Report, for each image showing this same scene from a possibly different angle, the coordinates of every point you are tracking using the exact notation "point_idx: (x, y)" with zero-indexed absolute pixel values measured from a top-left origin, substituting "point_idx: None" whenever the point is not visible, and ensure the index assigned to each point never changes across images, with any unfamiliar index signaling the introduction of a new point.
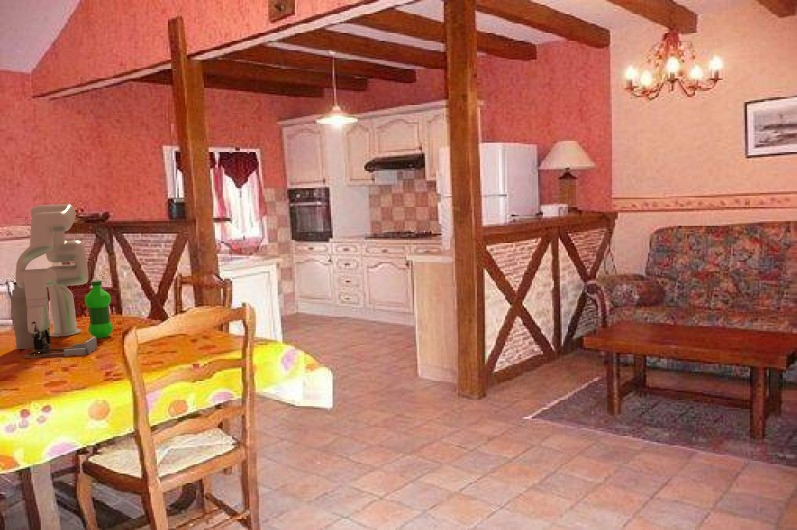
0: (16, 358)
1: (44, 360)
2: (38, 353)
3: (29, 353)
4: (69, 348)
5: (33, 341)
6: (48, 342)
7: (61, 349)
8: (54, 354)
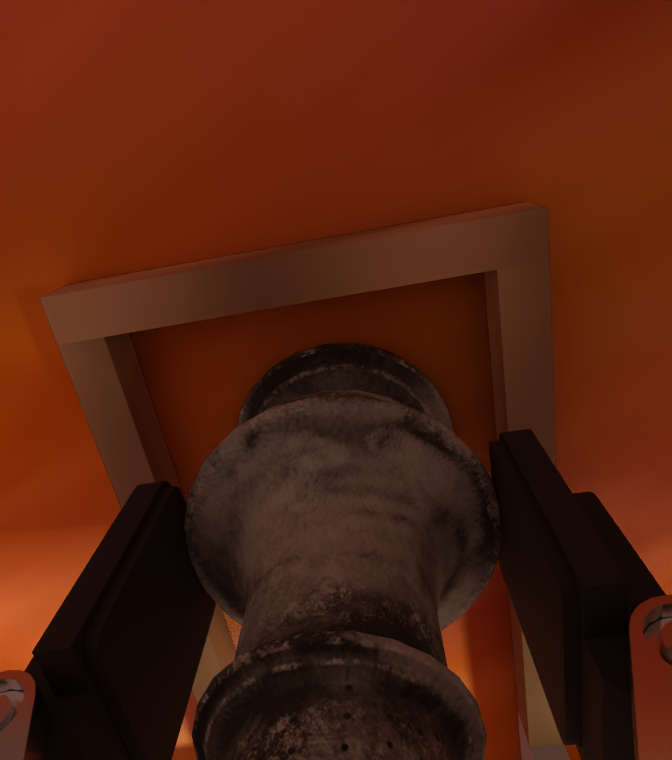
0: (90, 76)
1: (32, 629)
2: (332, 383)
3: (223, 288)
4: (525, 708)
5: (59, 612)
6: (511, 591)
7: (515, 620)
8: (195, 688)
